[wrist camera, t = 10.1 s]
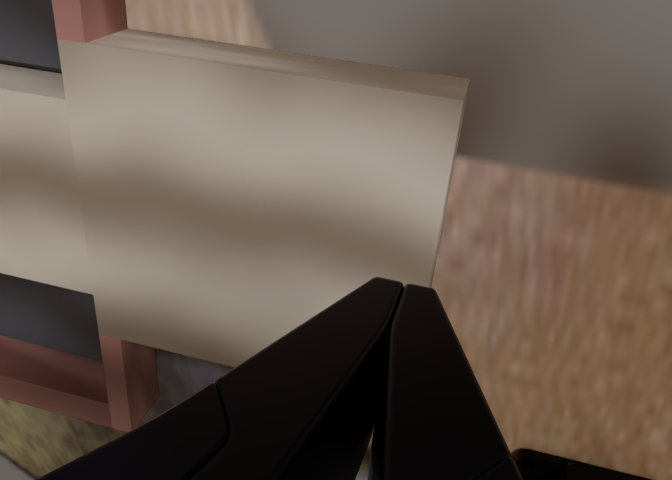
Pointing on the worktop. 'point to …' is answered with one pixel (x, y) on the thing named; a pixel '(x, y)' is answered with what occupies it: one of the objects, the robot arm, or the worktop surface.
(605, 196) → the worktop surface
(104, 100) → the trap deck
